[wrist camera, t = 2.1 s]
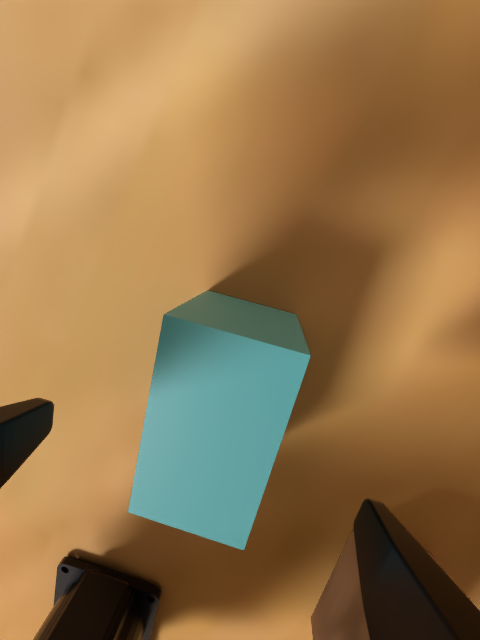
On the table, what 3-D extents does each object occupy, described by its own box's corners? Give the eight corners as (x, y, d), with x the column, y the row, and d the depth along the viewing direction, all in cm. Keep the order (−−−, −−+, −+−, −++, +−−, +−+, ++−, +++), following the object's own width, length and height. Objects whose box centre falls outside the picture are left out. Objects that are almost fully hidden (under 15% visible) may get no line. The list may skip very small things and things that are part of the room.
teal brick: (254, 445, 14) (244, 550, 9) (179, 422, 14) (127, 512, 9) (296, 314, 12) (310, 355, 7) (208, 289, 12) (163, 314, 7)
